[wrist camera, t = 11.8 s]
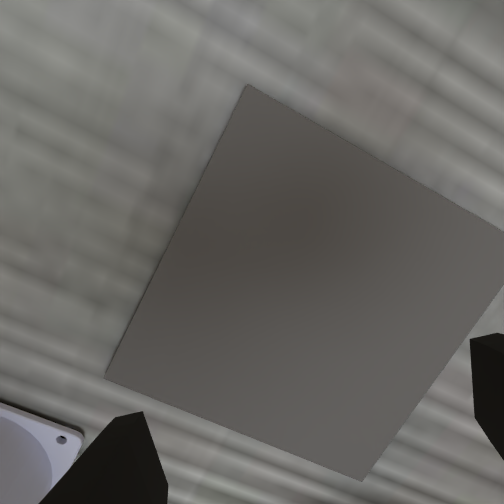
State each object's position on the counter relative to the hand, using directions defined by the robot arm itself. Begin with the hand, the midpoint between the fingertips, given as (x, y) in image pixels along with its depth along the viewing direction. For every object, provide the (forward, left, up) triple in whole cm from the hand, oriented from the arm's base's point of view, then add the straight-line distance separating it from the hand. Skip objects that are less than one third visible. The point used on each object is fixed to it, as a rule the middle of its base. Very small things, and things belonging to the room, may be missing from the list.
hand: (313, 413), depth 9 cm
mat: (+3, -1, -10) cm, 11 cm away
